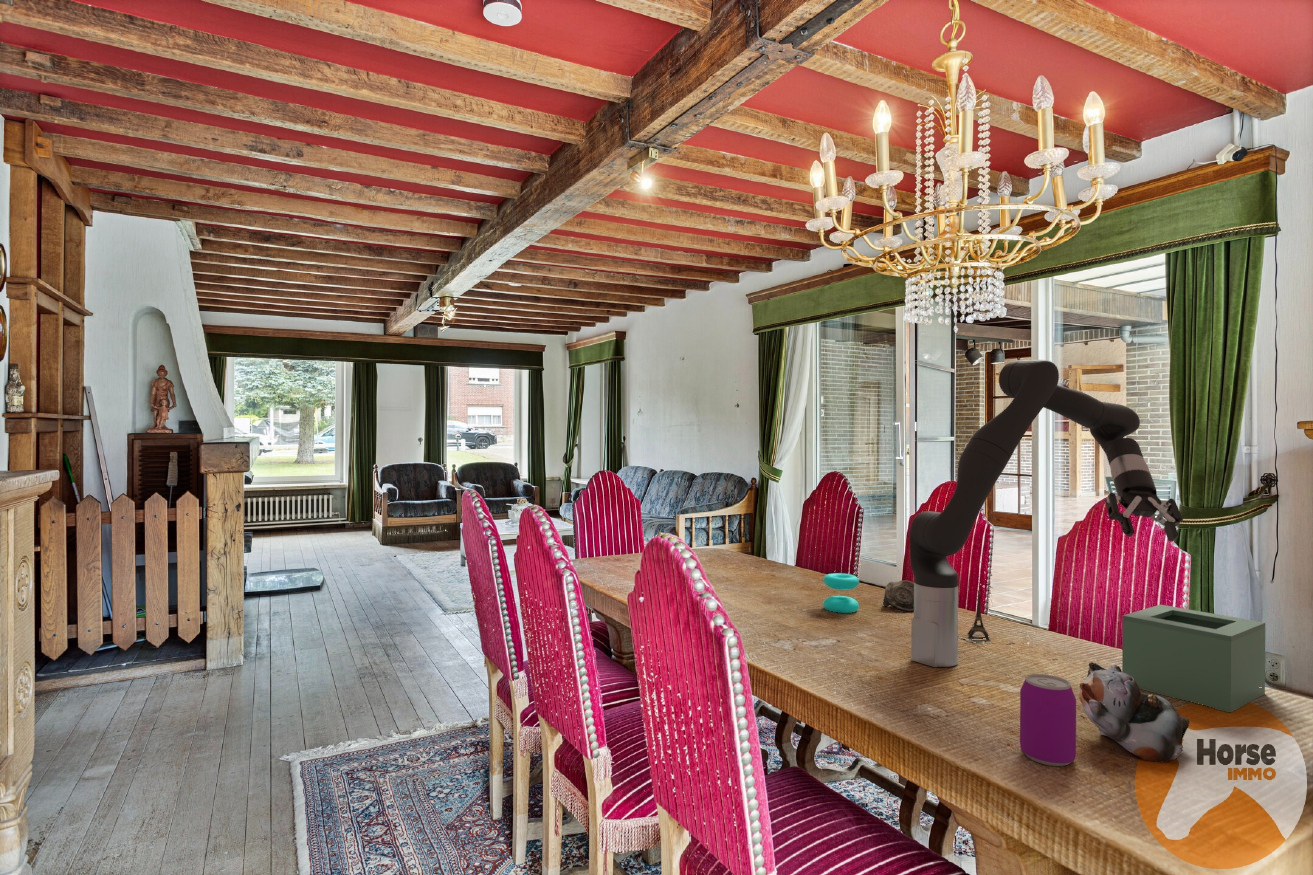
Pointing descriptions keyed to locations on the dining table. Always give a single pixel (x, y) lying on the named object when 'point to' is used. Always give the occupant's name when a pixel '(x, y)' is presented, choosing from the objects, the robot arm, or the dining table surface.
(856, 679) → the dining table surface
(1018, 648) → the dining table surface
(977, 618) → the eiffel tower figurine
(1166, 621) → the box
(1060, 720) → the beverage can
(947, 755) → the dining table surface
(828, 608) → the donuts
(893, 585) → the fossil
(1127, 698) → the lucky cat figurine
